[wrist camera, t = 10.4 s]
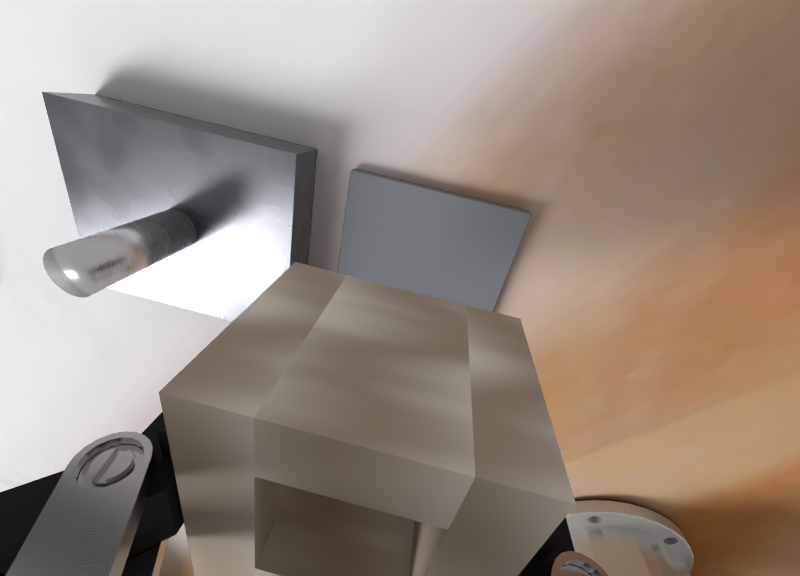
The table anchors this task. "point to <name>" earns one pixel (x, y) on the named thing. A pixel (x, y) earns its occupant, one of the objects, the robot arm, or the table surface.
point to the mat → (428, 239)
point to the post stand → (176, 205)
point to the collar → (363, 437)
